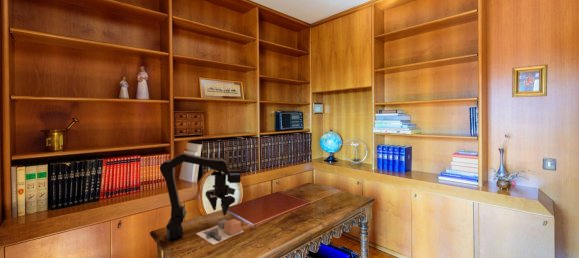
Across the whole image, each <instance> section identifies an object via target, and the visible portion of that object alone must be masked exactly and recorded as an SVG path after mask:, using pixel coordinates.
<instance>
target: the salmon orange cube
mask: <svg viewBox="0 0 579 258" xmlns="http://www.w3.org/2000/svg"><path fill="white" fill-rule="evenodd" d="M241 230H242V221H239V220H238V219H236V218H232V219H230V220H229V219H228V220H227V221H226V222H224V232H226V233H228V234H230V235H233V234H236V233H238V232H240V231H241Z"/></svg>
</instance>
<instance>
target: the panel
mask: <svg viewBox="0 0 579 258" xmlns="http://www.w3.org/2000/svg"><path fill="white" fill-rule="evenodd" d="M226 221H228V220H227V219H225V218H224V219H221V220H219V221H217V225H215V226H212V227H210V228H207V229H204V230H202V231H199V232H197V233H195V234H196V235H197V236H199V237H200V238H202V239H204V240H205V241H207V242H208V243H210V244H211V245H216V244H219V243H221V242H223V241H225V240H227V239H230V238H232V237H234V236H236V235H238V234H242V233H244V230H242V229H241V231H240V232H238V233H236V234H233V235H230V234H228V233H226V232H224V222H226ZM215 228H218V235H219V236H221V239H220V240H218V239H217V238H215V237H211V238H209V239H207V238H206V232H207V231H210V230H212V229H215Z"/></svg>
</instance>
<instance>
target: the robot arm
mask: <svg viewBox="0 0 579 258" xmlns="http://www.w3.org/2000/svg"><path fill="white" fill-rule="evenodd" d="M182 163H188V164H193V165H199V166H204V167H208V168H210V169H211V170H213V171H212V172H210V176H212V177H213V176H214V184H213V185H212V188H213V189H209V190H206V191H205V197H206V199H207V200H208V202H209V204H210V205H211V208H212V210H213V211H216V210H217V201H218V199H220V208H221V211H222V214H223V216H224V217H225V216H226V215H227V213H228V210H229V208H230V206H231V205H232V204H235V203H236V198H235V197H234V195H235V192H236V189H235V188H233V187H230V185H229V184H241V180H242V179H241V170H240V169H230V168H229V167H228V165H227V161H226V160H225V159H224V158H219V157H215V158H211V157H210V158H208V157H203V156H201V155H200V156H199V155H194V154H190V153H187V152H182V153H180V154H179V155H177V156H175V157H173V158H171V159H167V160H164V161H163V162H161V164H160V166H159V170H160V173H161V176H162V177H163V179H164V180H165V184H166V187H167V193H168V198H169V203H170V206H171V208H170V218H169V220H168V222H167V224H166V226H165V227H166V236H165V239H166V240H168V241H169V242H170V243H172V242H175V241H177V240H180V239H182V238H184V237H183V234H184V233H183V231H184V229H183V226H182V225H183V224H182V223H183V222H184V221H185V218H186V215H187V210H186V206H185V205H182V203H181V201H180V196H179V192H178V187H177V186H178V185H177V181H176V167H178V166H179V165H181V164H182ZM227 182H228V183H229V184H227Z"/></svg>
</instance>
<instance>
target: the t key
mask: <svg viewBox="0 0 579 258" xmlns="http://www.w3.org/2000/svg"><path fill="white" fill-rule="evenodd" d="M211 237H215V238H217V239H218V240H220V239H221V236H219V235H218V228H215V229H212V230H210V231H207V232H206V238H207V239H209V238H211Z"/></svg>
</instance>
